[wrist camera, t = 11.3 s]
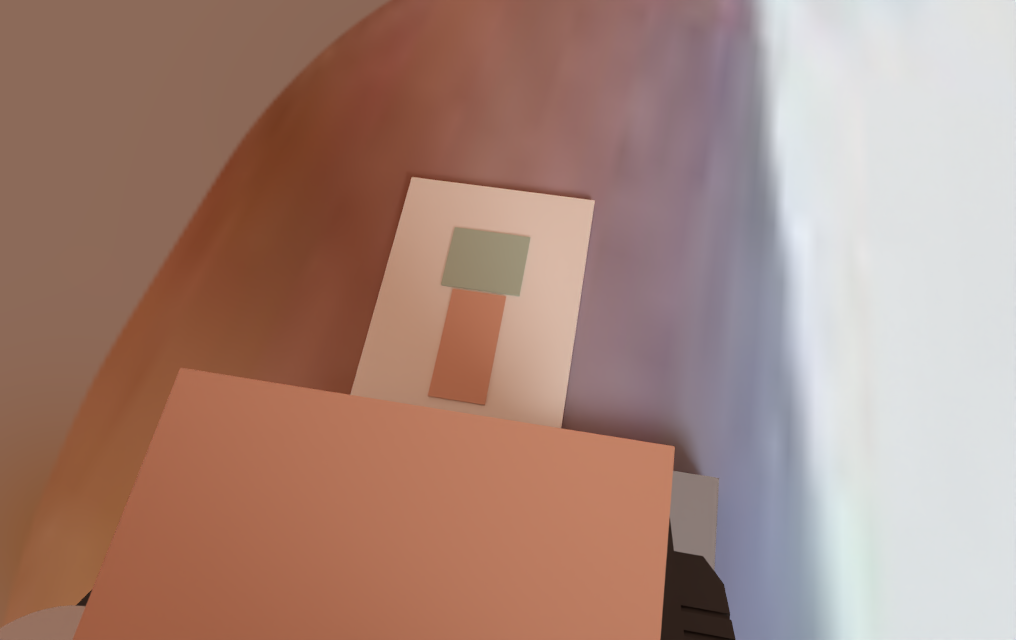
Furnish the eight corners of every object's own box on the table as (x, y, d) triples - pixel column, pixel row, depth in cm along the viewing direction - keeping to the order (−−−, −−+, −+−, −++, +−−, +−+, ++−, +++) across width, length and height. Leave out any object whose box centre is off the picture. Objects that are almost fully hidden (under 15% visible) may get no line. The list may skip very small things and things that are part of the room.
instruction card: (412, 181, 27) (411, 175, 27) (594, 204, 27) (595, 199, 26) (343, 430, 23) (340, 426, 23) (555, 465, 23) (556, 462, 22)
